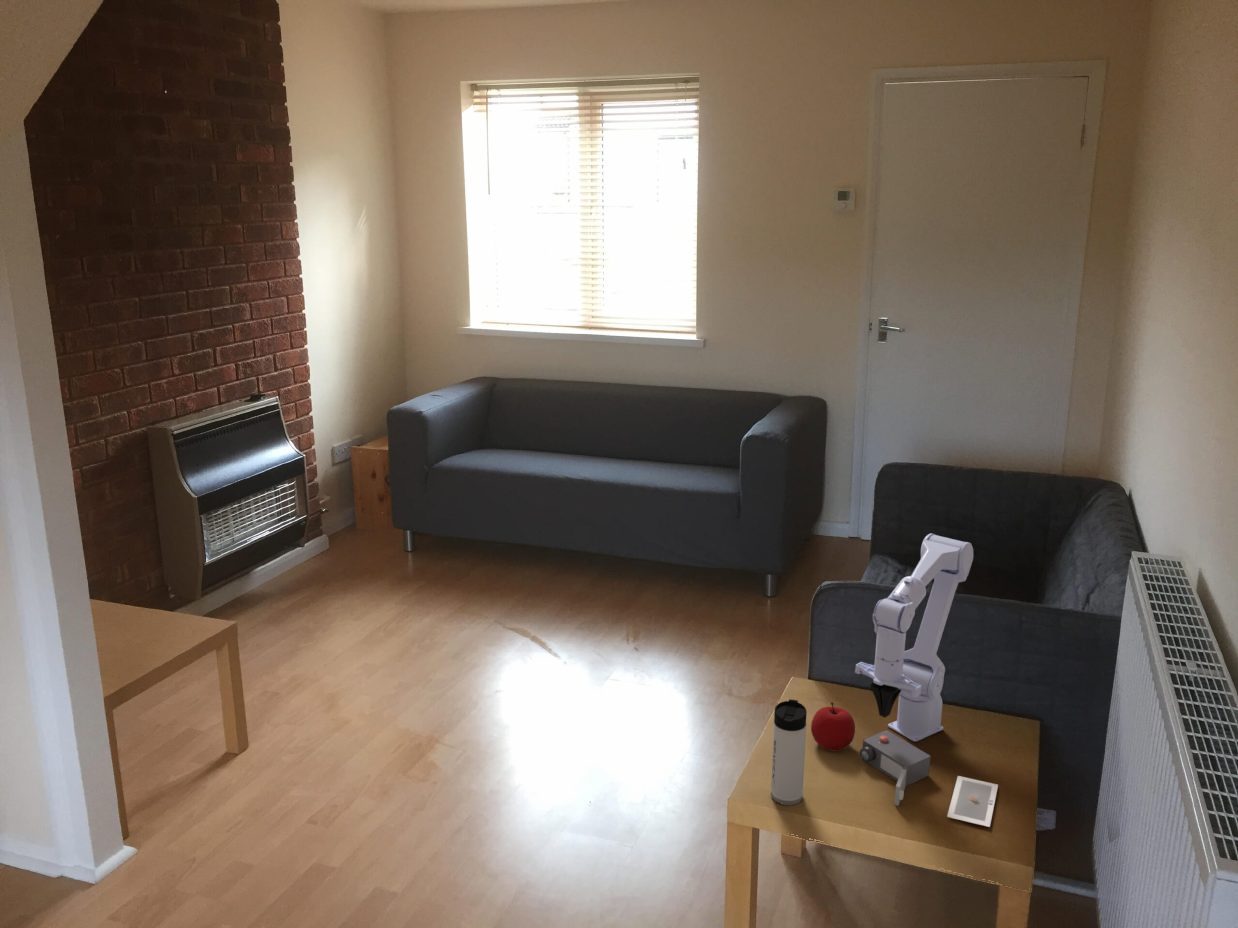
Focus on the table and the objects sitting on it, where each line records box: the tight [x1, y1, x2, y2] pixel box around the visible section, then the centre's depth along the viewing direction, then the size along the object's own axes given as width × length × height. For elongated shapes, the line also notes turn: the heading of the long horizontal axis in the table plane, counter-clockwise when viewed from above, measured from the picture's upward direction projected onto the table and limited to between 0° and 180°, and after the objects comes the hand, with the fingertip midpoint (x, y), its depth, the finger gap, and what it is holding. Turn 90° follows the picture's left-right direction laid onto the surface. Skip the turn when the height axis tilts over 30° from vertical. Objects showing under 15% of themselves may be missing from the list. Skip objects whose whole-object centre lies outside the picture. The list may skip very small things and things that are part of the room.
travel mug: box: [770, 698, 808, 806], centre depth 207 cm, size 6×7×20 cm
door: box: [893, 766, 907, 806], centre depth 209 cm, size 8×2×5 cm, turn 155°
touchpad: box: [946, 775, 999, 828], centre depth 208 cm, size 8×15×2 cm, turn 155°
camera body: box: [859, 729, 932, 787], centre depth 219 cm, size 9×12×5 cm
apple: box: [810, 702, 856, 752], centre depth 226 cm, size 9×9×10 cm
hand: (884, 714), depth 220 cm, fingers closed
